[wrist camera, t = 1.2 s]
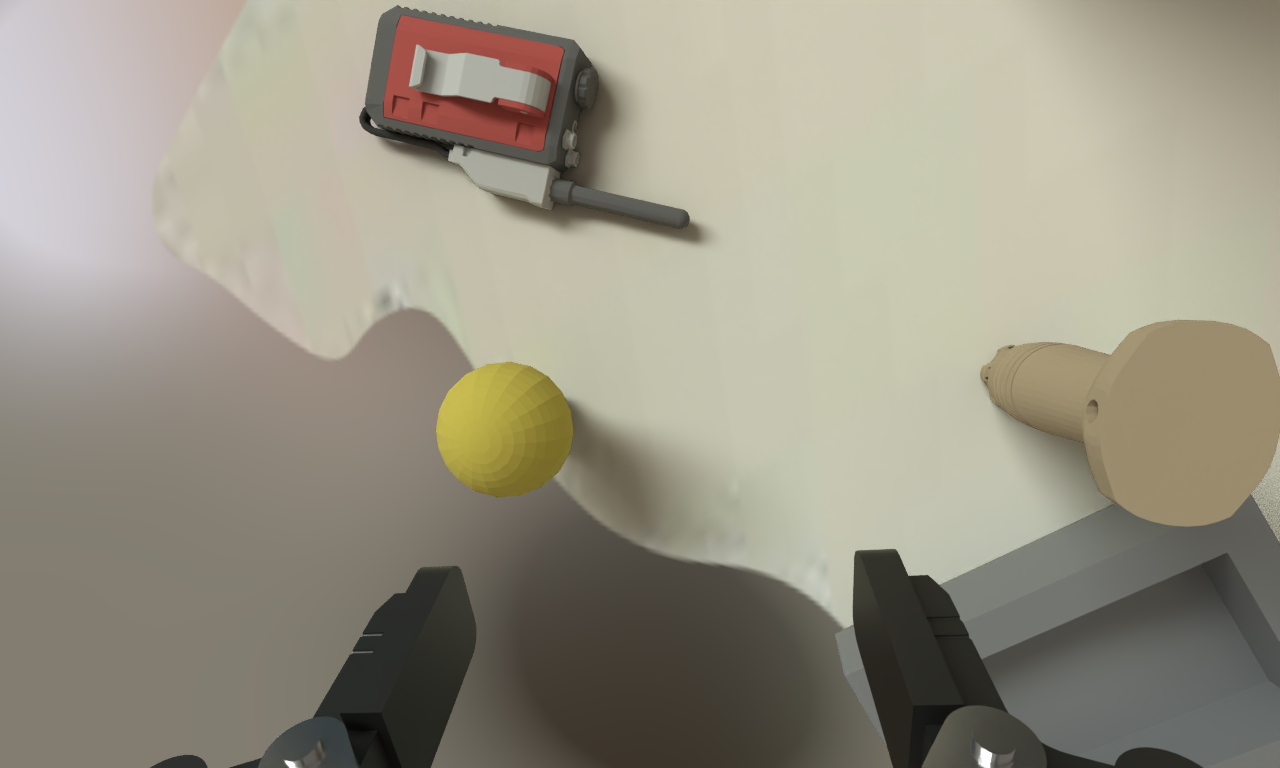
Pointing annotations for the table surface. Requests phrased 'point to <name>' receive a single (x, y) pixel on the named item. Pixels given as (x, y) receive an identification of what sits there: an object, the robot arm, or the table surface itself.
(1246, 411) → the handle
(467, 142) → the walkie-talkie
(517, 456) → the light bulb
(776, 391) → the table surface
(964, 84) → the table surface
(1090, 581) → the gray rectangular tray
